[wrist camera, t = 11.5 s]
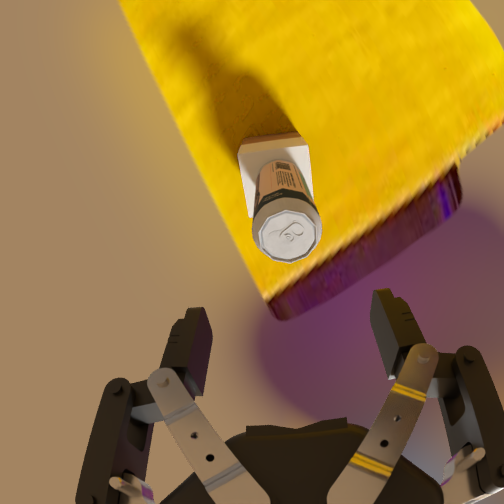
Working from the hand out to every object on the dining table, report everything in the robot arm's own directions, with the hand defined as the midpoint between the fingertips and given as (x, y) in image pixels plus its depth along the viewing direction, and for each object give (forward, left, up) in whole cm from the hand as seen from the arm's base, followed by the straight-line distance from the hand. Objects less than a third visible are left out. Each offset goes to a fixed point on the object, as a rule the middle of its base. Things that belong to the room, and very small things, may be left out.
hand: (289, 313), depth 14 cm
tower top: (0, 0, -24) cm, 24 cm away
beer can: (0, 0, -19) cm, 19 cm away
